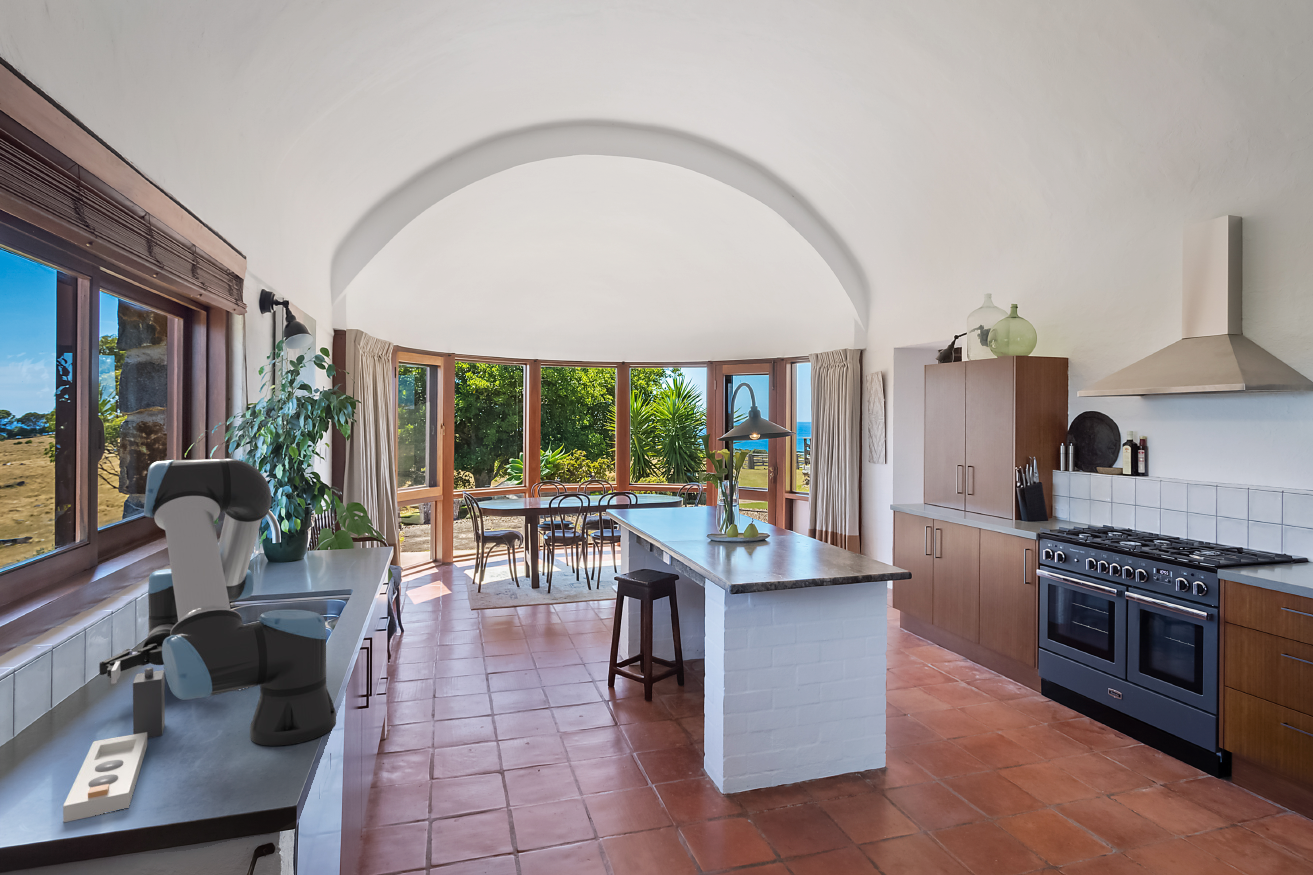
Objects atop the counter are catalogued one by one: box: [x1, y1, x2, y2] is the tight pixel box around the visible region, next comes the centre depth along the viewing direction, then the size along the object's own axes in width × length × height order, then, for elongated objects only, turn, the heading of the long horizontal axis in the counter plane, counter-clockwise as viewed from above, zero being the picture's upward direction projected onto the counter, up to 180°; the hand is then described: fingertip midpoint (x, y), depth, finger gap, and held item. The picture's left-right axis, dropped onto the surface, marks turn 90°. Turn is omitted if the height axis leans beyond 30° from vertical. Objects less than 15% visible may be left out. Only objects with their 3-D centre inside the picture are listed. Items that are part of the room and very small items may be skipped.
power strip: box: [62, 732, 148, 823], centre depth 122 cm, size 26×8×3 cm, turn 30°
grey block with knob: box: [132, 667, 166, 739], centre depth 141 cm, size 6×4×12 cm
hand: (154, 671), depth 149 cm, fingers open, 13 cm apart
